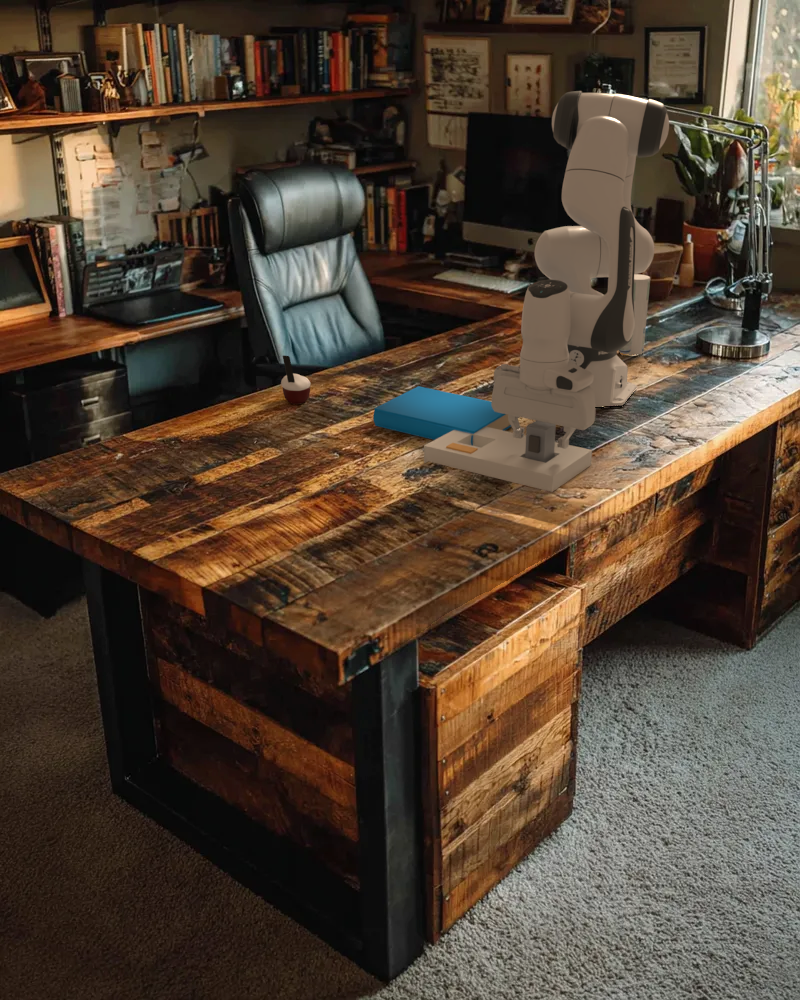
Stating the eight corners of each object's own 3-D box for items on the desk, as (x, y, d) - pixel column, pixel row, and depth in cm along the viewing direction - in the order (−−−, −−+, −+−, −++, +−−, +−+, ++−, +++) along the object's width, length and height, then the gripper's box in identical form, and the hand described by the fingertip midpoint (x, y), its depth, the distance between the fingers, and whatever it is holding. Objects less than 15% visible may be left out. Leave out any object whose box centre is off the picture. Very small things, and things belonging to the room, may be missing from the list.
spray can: (648, 355, 281) (654, 278, 273) (625, 357, 279) (631, 280, 271) (636, 349, 287) (642, 273, 279) (614, 351, 285) (619, 275, 277)
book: (417, 386, 242) (516, 404, 228) (418, 404, 244) (515, 423, 230) (371, 409, 229) (473, 430, 216) (372, 428, 231) (473, 450, 218)
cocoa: (300, 396, 254) (298, 345, 250) (320, 400, 250) (318, 349, 246) (270, 404, 247) (268, 352, 243) (290, 409, 243) (288, 356, 239)
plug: (534, 464, 209) (536, 420, 206) (553, 468, 207) (555, 424, 204) (522, 472, 206) (524, 427, 202) (541, 476, 204) (543, 431, 200)
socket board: (467, 441, 224) (467, 421, 223) (590, 469, 210) (592, 448, 208) (424, 464, 212) (423, 444, 211) (551, 496, 198) (552, 474, 196)
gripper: (486, 366, 202) (484, 436, 208) (586, 384, 191) (581, 458, 197) (503, 358, 207) (501, 426, 213) (601, 376, 196) (596, 447, 202)
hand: (540, 442), depth 205 cm, fingers open, 8 cm apart
